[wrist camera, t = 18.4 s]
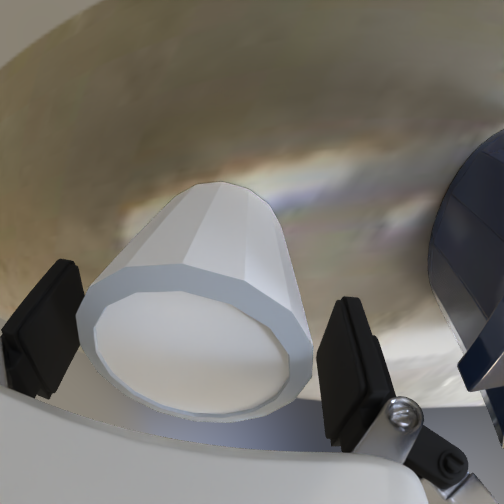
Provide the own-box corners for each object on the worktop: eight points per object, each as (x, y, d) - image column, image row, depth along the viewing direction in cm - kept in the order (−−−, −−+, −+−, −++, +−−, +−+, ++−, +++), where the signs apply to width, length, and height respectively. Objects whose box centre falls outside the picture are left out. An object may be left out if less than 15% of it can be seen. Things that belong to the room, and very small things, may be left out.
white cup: (327, 252, 14) (359, 380, 8) (216, 320, 17) (195, 439, 11) (225, 132, 12) (179, 201, 6) (118, 232, 14) (42, 338, 8)
